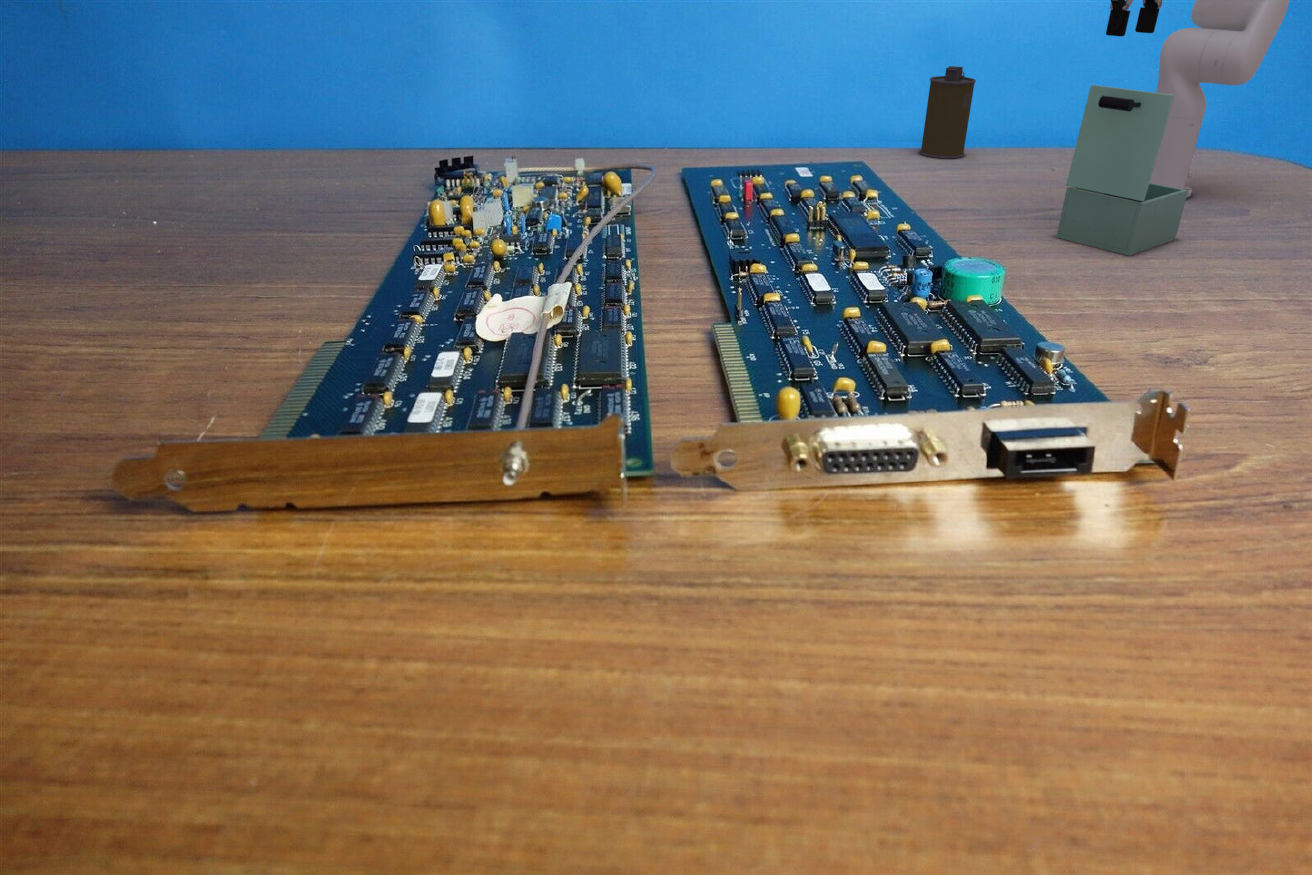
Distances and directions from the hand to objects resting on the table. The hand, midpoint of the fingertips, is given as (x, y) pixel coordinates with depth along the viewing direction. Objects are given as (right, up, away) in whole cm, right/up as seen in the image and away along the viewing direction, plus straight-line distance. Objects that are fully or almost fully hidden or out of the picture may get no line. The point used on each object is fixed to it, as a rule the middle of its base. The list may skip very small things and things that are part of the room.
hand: (1129, 34), depth 162 cm
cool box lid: (-6, -22, -9) cm, 24 cm away
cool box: (-1, -35, +3) cm, 35 cm away
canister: (-13, -1, +66) cm, 67 cm away
